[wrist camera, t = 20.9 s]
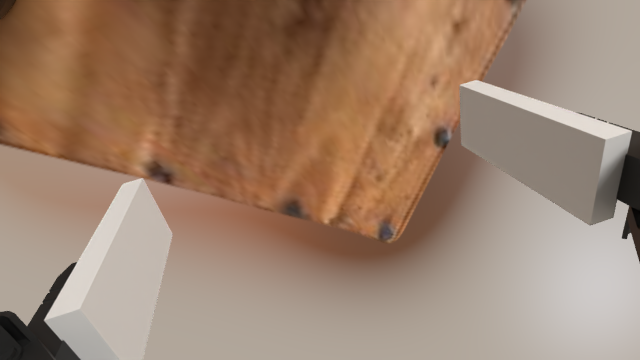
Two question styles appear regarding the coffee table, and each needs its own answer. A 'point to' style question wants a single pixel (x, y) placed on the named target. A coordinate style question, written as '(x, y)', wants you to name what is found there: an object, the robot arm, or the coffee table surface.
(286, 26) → the coffee table surface
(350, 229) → the coffee table surface
